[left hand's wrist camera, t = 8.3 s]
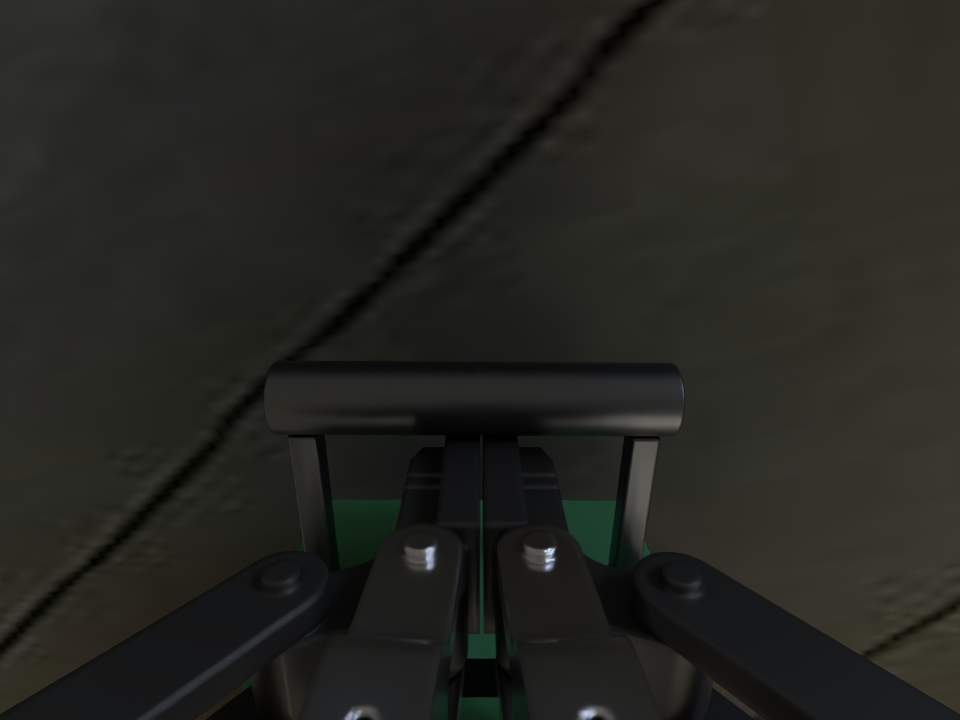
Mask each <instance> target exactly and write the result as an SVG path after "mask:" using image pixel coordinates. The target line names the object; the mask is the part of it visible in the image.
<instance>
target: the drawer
mask: <svg viewBox="0 0 960 720" xmlns="http://www.w3.org/2000/svg"><path fill="white" fill-rule="evenodd" d="M263 401H264V414H265V419H266V423H267V426H268V428H269V430H270V431H271V432H272V433H274V434H277V435H289V436H288V445H289V451H290V458H291V465H292V472H293V479H294V486H295V493H296V499H297V506H298V513H299V520H300V527H301V534H302V542H301V544H300V547H299V549H298V551H304V552H309V553H312V554H315V555H317V556H319V557H320V558H321V559H322V560H323V561H324V562H325V563H326V565H327V567H328V572H333V571H337V570H341V569H345V568H350V567H353V566H357V565H360V564H363V563H365V562H368V561H370V560H372V559H373V558H375V557H376V554H377V552H378V549H379V547H380V545H381V543H382V541H383V540H384V539H385V538H386V537H387V536H388V535H389V534H391V533H392V532H394V531H395V529H396V524H397V520H398V515H399V510H400V506H401V501H402V500H376V499H332V496H331V487H330V479H329V470H328V461H327V453H326V444H325V436H324V435H501V436H624V443H623V451H622V459H621V467H620V475H619V483H618V491H617V498H616V500H562V504H563V508H564V513H565V517H566V521H567V526H568V530H569V534H571V535H572V536H573V537H574V538H575V539H576V540H577V541H578V543H579V545H580V547H581V549H582V552H583V554H585V555H586V556H588V557H589V558H591V559H593V560H595V561H597V562H599V563H602V564H604V565H608V566H611V567H615V568H620V569H624V570H628V571H632V572H634V569H635V566H636V565H637V563H638V562H639V561H640V560H641V559H642V558H644V557H646V556H648V555H650V553H649V550H648V547H647V545H646V542H645V535H646V529H647V522H648V516H649V509H650V503H651V497H652V490H653V484H654V477H655V471H656V465H657V458H658V452H659V445H660V438H659V436H674V435H676V434H677V433H678V432H679V430H680V428H681V425H682V422H683V417H684V409H685V393H684V385H683V381H682V377H681V374H680V371H679V369H678V368H677V366H676V365H674V364H672V363H594V362H411V361H276V362H274V363H273V364H272V365H271V367H270V369H269V371H268V374H267V377H266V381H265V387H264V400H263ZM250 685H251V680H250V678H249V679H248V680H246V681H245V682H244V684H243V687H242V689H241V692H243V691H244V690H245V689H246V688H248V687H249V686H250ZM241 692H240V693H241ZM460 720H500V711H499V702H498V694H497V685H496V644H495V634H484V611H483V500H480V634H469V636H468V656H467V659H466V662H465V664H464V685H463V694H462V702H461V711H460Z"/></svg>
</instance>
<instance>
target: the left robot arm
mask: <svg viewBox="0 0 960 720" xmlns="http://www.w3.org/2000/svg"><path fill="white" fill-rule="evenodd" d="M483 611H484V634H495V644H496V685H497V694H498V702H499V711H500V720H754V719H753V718H751V717H750V716H749V715H747V714H746V713H745V712H744V711H742V710H741V709H740V708H738V707H737V706H736V705H734V704H733V703H732V702H730V701H729V700H728V699H727V698H725V697H724V696H723V695H721V694H720V693H719V692H717V691H716V690H715V689H714V688H712V686H713V681H715V682H716V683H718V684H719V685H720V686H722V687H723V688H724V689H726V690H727V691H728V692H730V693H731V694H732V695H734V696H735V697H736V698H738V699H739V700H740V701H742V702H743V703H744V704H746V705H747V706H748V707H750V708H751V709H752V710H754V711H755V712H756V713H758V714H759V715H760V716H762V717H763V718H764V719H766V720H960V714H958V713H957V712H955V711H953V710H952V709H950V708H948V707H947V706H945V705H943V704H941V703H940V702H938V701H936V700H935V699H933V698H931V697H930V696H928V695H926V694H925V693H923V692H921V691H920V690H918V689H916V688H915V687H913V686H911V685H910V684H908V683H906V682H905V681H903V680H901V679H900V678H898V677H896V676H895V675H893V674H891V673H889V672H888V671H886V670H884V669H883V668H881V667H879V666H878V665H876V664H874V663H873V662H871V661H869V660H868V659H866V658H864V657H863V656H861V655H859V654H858V653H856V652H854V651H853V650H851V649H849V648H848V647H846V646H844V645H843V644H841V643H839V642H837V641H836V640H834V639H832V638H831V637H829V636H827V635H826V634H824V633H822V632H821V631H819V630H817V629H816V628H814V627H812V626H811V625H809V624H807V623H806V622H804V621H802V620H801V619H799V618H797V617H796V616H794V615H792V614H791V613H789V612H787V611H785V610H784V609H782V608H780V607H779V606H777V605H775V604H774V603H772V602H770V601H769V600H767V599H765V598H764V597H762V596H760V595H759V594H757V593H755V592H754V591H752V590H750V589H749V588H747V587H745V586H744V585H742V584H740V583H739V582H737V581H735V580H733V579H732V578H730V577H728V576H727V575H725V574H723V573H722V572H720V571H718V570H717V569H715V568H713V567H712V566H710V565H708V564H707V563H705V562H703V561H701V560H699V559H697V558H694V557H692V556H688V555H685V554H681V553H674V552H659V553H654V554H651V555H648V556H646V557H644V558H642V559H641V560H640V561H639V562H638V563H637V565H636V566H635V569H634V572H632V571H628V570H624V569H620V568H615V567H611V566H608V565H604V564H602V563H599V562H597V561H595V560H593V559H591V558H589V557H588V556H586V555H585V554H583V552H582V549H581V547H580V545H579V543H578V541H577V540H576V539H575V538H574V537H573V536H572V535H571V534H569V530H568V526H567V521H566V517H565V513H564V508H563V504H562V500H561V495H560V491H559V489H558V482H557V478H556V473H555V469H554V465H553V460H552V459H551V458H550V457H549V456H548V455H547V454H546V453H545V452H544V451H543V450H542V449H541V448H540V447H518V441H517V436H501V435H483ZM469 634H480V435H446V441H445V447H423V448H422V449H421V450H420V451H419V452H418V453H417V454H416V455H415V456H414V457H413V458H412V459H411V460H410V465H409V469H408V474H407V479H406V483H405V490H404V492H403V497H402V501H401V506H400V510H399V515H398V520H397V524H396V529H395V531H394V532H392V533H391V534H389V535H388V536H387V537H386V538H385V539H384V540H383V541H382V543H381V545H380V547H379V549H378V552H377V554H376V557H375V558H373V559H372V560H370V561H368V562H365V563H363V564H360V565H357V566H353V567H350V568H345V569H341V570H337V571H333V572H328V567H327V565H326V563H325V562H324V561H323V560H322V559H321V558H320V557H319V556H317V555H315V554H312V553H309V552H304V551H286V552H280V553H276V554H273V555H270V556H267V557H265V558H263V559H261V560H259V561H257V562H255V563H253V564H252V565H250V566H248V567H247V568H245V569H243V570H242V571H240V572H238V573H237V574H235V575H233V576H232V577H230V578H228V579H227V580H225V581H223V582H222V583H220V584H218V585H216V586H215V587H213V588H211V589H210V590H208V591H206V592H205V593H203V594H201V595H200V596H198V597H196V598H195V599H193V600H191V601H190V602H188V603H186V604H185V605H183V606H181V607H180V608H178V609H176V610H175V611H173V612H171V613H170V614H168V615H166V616H164V617H163V618H161V619H159V620H158V621H156V622H154V623H153V624H151V625H149V626H148V627H146V628H144V629H143V630H141V631H139V632H138V633H136V634H134V635H133V636H131V637H129V638H128V639H126V640H124V641H123V642H121V643H119V644H117V645H116V646H114V647H112V648H111V649H109V650H107V651H106V652H104V653H102V654H101V655H99V656H97V657H96V658H94V659H92V660H91V661H89V662H87V663H86V664H84V665H82V666H81V667H79V668H77V669H76V670H74V671H72V672H71V673H69V674H67V675H65V676H64V677H62V678H60V679H59V680H57V681H55V682H54V683H52V684H50V685H49V686H47V687H45V688H44V689H42V690H40V691H39V692H37V693H35V694H34V695H32V696H30V697H29V698H27V699H25V700H24V701H22V702H20V703H19V704H17V705H15V706H13V707H12V708H10V709H8V710H7V711H5V712H3V713H2V714H0V720H195V719H196V718H197V717H198V716H200V715H201V714H202V713H204V712H205V711H206V710H208V709H209V708H210V707H212V706H213V705H214V704H216V703H217V702H218V701H220V700H221V699H222V698H224V697H225V696H226V695H228V694H229V693H230V692H232V691H233V690H234V689H236V688H237V687H238V686H240V685H241V684H242V683H244V682H245V681H246V680H248V679H249V678H250V680H251V685H250V686H249V687H248V688H246V689H245V690H244V691H243V692H241V693H240V694H239V695H237V696H236V697H235V698H233V699H232V700H231V701H230V702H228V703H227V704H226V705H224V706H223V707H222V708H220V709H219V710H218V711H216V712H215V713H214V714H213V715H211V716H210V717H209V718H207V719H206V720H460V711H461V702H462V694H463V685H464V664H465V662H466V659H467V656H468V636H469Z"/></svg>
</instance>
